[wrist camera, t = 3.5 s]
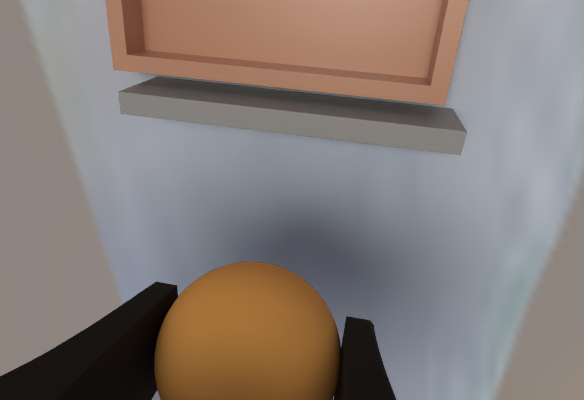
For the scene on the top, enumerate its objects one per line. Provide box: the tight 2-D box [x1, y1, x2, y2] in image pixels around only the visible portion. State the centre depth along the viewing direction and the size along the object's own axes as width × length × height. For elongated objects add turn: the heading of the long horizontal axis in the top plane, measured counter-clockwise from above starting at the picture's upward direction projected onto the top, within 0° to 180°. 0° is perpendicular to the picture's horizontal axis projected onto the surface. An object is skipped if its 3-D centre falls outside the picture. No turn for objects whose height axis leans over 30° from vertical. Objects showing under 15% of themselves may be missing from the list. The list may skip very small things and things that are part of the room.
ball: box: [154, 262, 341, 400], centre depth 11 cm, size 5×5×5 cm
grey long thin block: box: [119, 77, 467, 155], centre depth 16 cm, size 1×12×3 cm, turn 86°
